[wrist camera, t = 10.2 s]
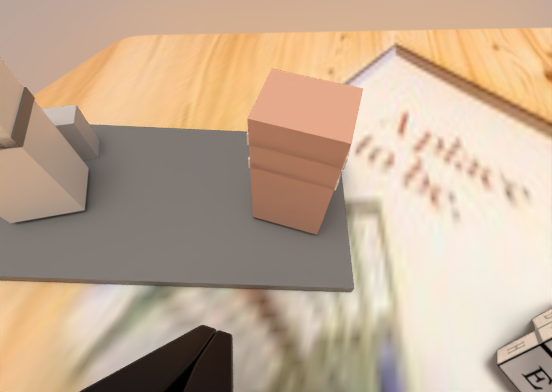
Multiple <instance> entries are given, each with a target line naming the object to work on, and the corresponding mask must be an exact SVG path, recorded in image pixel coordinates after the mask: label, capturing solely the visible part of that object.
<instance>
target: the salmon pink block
mask: <svg viewBox="0 0 552 392" xmlns="http://www.w3.org/2000/svg"><path fill="white" fill-rule="evenodd" d="M362 91H363V89H362V88H358V87H353V86H349V85H344V84H340V83H335V82H331V81H326V80H322V79H317V78H313V77H308V76H303V75H299V74H294V73H290V72H285V71H281V70H276V69H271V71H270V73H269V75H268V77H267V79H266V81H265V84H264V86H263V88H262V90H261V92H260V94H259V96H258V98H257V100H256V102H255V104H254V106H253V108H252V110H251V112H250V115H249V117H248V132H247V145H249V158H248V167H249V168H250V175H251V194H252V213H253V217H255V218H259V219H262V220H266V221H269V222H273V223H276V224H280V225H284V226H287V227H291V228H294V229H298V230H301V231H305V232H308V233H312V234H316V235H317V234H318V232H319V229H320V226H321V224H322V221H323V218H324V216H325V213H326V210H327V208H328V205H329V202H330V200H331V197H332V194H333V191H334V190H336V189H337V186H338V183H339V179H340V175H341V170H342V169H344V168H345V165H346V162H347V160H348V156H349V151H350V146H351V143H352V138H353V133H354V129H355V124H356V119H357V115H358V110H359V105H360V101H361V96H362Z"/></svg>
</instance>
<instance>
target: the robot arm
mask: <svg viewBox="0 0 552 392" xmlns="http://www.w3.org/2000/svg"><path fill="white" fill-rule="evenodd" d="M80 392H233V339H232V335H231V334H229V333H226V332H223V331H220V330H219V331H217V332H216V329H214V328H211V327H208V326H205V325H201V326H199V327H197V328H195V329H193V330H191V331H190V332H188V333H186V334H184V335H182V336H180V337H179V338H177V339H175V340H173V341H171V342H169V343H168V344H166V345H164V346H162V347H160V348H158V349H157V350H155V351H153V352H151V353H149V354H147V355H146V356H144V357H142V358H140V359H138V360H136V361H135V362H133V363H131V364H129V365H127V366H125V367H124V368H122V369H120V370H118V371H116V372H114V373H113V374H111V375H109V376H107V377H105V378H103V379H102V380H100V381H98V382H96V383H94V384H92V385H91V386H89V387H87V388H85V389H83V390H82V391H80Z"/></svg>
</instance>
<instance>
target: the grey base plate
mask: <svg viewBox="0 0 552 392" xmlns="http://www.w3.org/2000/svg"><path fill="white" fill-rule="evenodd" d="M42 110H43V111H44V113H45V114H46V115H47V116H48V118H49V119H50V120H51V121H52V123H53V124H54V125H55V126H56V128H57V129H58V130H59V132H60V133H61V134H62V135H63V137H64V138H65V139H66V140H67V142H68V143H69V144H70V145H71V147H72V148H73V149H74V150H75V152H76V153H77V154H78V155H79V157H80V158H81V159H82V160H83V162H84V163H85V164H86V165H87V167H88V168H89V170H88V181H87V191H86V202H85V210H83V211H78V212H72V213H66V214H60V215H55V216H49V217H43V218H38V219H32V220H26V221H21V222H15V223H9V222H8V221H6V220H4V219H3V218H1V217H0V280H10V281H39V282H69V283H98V284H128V285H157V286H186V287H216V288H245V289H275V290H304V291H334V292H351V291H352V290H353V289H354V282H353V273H352V264H351V255H350V246H349V237H348V228H347V219H346V210H345V201H344V192H343V183H342V174H341V175H340V179H339V183H338V186H337V189H336V190H334V191H333V194H332V197H331V200H330V202H329V205H328V208H327V210H326V213H325V216H324V218H323V221H322V224H321V226H320V229H319V232H318V234H317V235H316V234H312V233H308V232H305V231H301V230H298V229H294V228H291V227H287V226H284V225H280V224H276V223H273V222H269V221H266V220H262V219H259V218H255V217H253V213H252V194H251V175H250V168H249V167H248V158H249V145H247V132H243V131H221V130H199V129H177V128H155V127H133V126H111V125H89V123H88V122H87V120H86V119H85V117H84V116H83V114H82V113H81V111H80V110H79V108H78V107H77V105H70V106H62V107H54V108H46V109H42Z"/></svg>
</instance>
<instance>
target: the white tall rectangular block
mask: <svg viewBox="0 0 552 392" xmlns="http://www.w3.org/2000/svg"><path fill="white" fill-rule="evenodd" d="M34 99H35V98H34V96H33V95H32V94H31V93H30V91H29V90H28V89H27V88H26V87H24V86H23V85H22V84H21V83H20V81H19V80H18V79H17V78H16V76H15V75H14V74H13V73H12V71H11V70H10V69H9V68H8V66H7V65H6V64H5V63H4V61H3V60H2V59H1V58H0V217H1V218H3V219H4V220H6V221H8V222H9V223H15V222H21V221H26V220H32V219H38V218H43V217H49V216H55V215H60V214H66V213H72V212H78V211H83V210H85V202H86V191H87V181H88V170H89V168H88V167H87V165H86V164H85V163H84V162H83V160H82V159H81V158H80V157H79V155H78V154H77V153H76V152H75V150H74V149H73V148H72V147H71V145H70V144H69V143H68V142H67V140H66V139H65V138H64V137H63V135H62V134H61V133H60V132H59V130H58V129H57V128H56V126H55V125H54V124H53V123H52V121H51V120H50V119H49V118H48V116H47V115H46V114H45V113H44V111H43V110H42V109H41V108H40V106H39V105H38V104H37V103H36V101H35V100H34Z"/></svg>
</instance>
